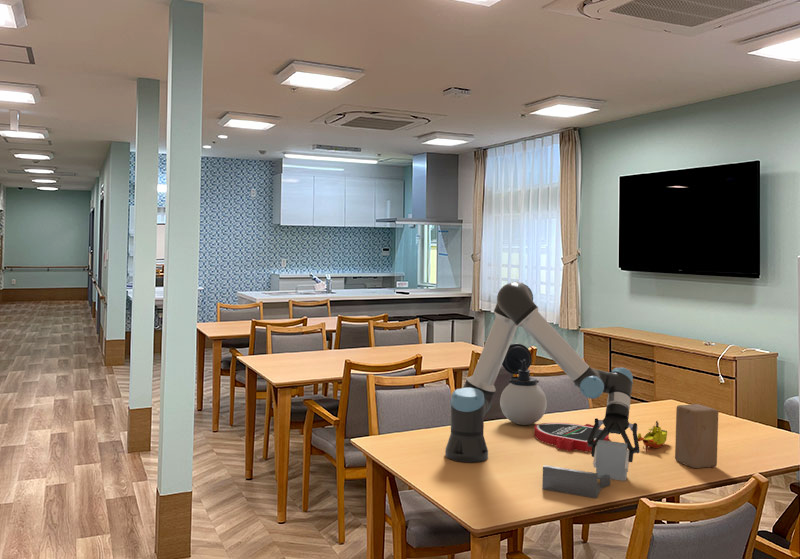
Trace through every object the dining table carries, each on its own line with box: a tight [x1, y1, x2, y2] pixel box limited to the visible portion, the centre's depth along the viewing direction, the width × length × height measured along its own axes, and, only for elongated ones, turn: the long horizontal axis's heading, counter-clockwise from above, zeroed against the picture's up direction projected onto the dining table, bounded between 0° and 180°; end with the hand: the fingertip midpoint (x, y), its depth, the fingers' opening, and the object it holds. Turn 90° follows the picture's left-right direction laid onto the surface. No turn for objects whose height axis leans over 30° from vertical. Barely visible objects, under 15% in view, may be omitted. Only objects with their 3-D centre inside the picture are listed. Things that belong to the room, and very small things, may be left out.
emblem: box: [533, 422, 610, 452], centre depth 253 cm, size 30×4×30 cm
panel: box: [595, 440, 628, 482], centre depth 209 cm, size 4×9×11 cm, turn 64°
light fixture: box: [499, 343, 548, 426], centre depth 276 cm, size 20×23×33 cm
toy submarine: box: [637, 420, 668, 452], centre depth 244 cm, size 6×18×10 cm, turn 135°
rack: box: [541, 464, 611, 499], centre depth 199 cm, size 14×20×7 cm
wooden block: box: [674, 403, 719, 469], centre depth 223 cm, size 10×10×20 cm
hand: (610, 467), depth 206 cm, fingers closed on panel, 9 cm apart
